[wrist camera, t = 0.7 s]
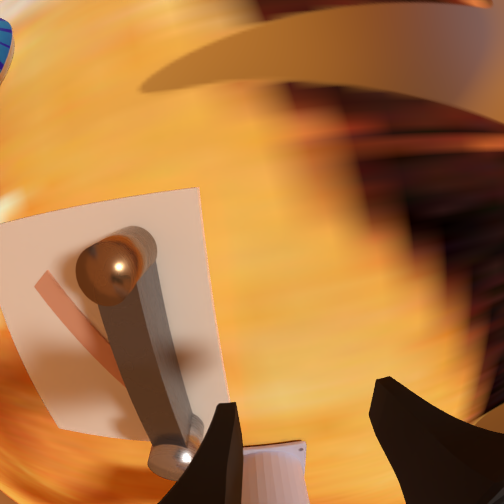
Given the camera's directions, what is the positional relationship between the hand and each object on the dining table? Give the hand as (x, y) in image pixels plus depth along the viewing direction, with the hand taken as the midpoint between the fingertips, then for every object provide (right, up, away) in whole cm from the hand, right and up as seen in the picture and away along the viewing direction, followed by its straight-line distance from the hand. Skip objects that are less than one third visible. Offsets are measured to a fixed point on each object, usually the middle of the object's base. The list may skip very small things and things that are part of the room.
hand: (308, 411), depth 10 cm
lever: (-8, -1, +8) cm, 12 cm away
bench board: (-13, -1, +9) cm, 16 cm away
